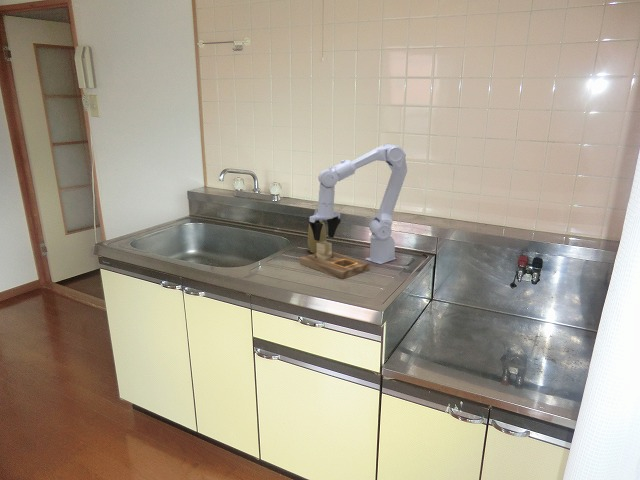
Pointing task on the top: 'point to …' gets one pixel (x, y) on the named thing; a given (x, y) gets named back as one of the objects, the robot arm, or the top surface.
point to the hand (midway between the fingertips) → (324, 238)
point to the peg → (324, 250)
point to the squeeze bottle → (311, 242)
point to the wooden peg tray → (336, 265)
